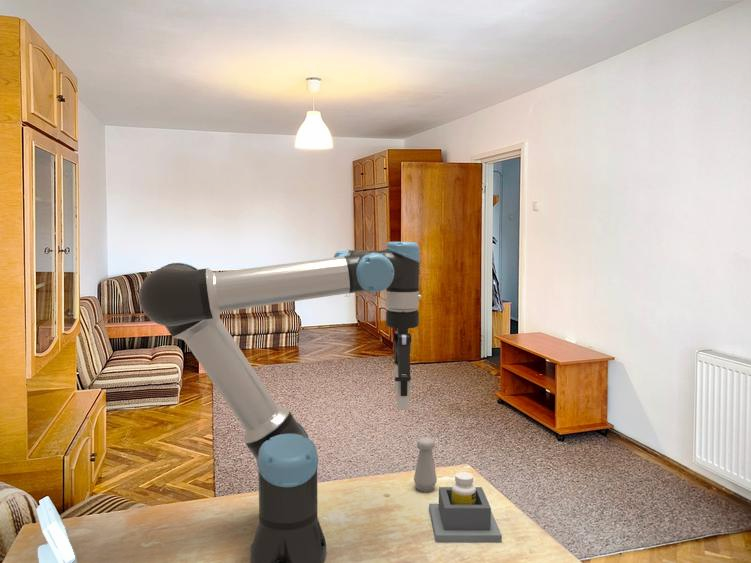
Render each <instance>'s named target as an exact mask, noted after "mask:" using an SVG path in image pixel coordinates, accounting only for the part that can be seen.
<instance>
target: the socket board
mask: <svg viewBox="0 0 751 563" xmlns="http://www.w3.org/2000/svg"><path fill="white" fill-rule="evenodd" d="M475 487H476V504H475V505H451V498H452V486H438V503H429V504H428V511H429V516H430V522H431V526H432V530H433V534H434V540H435V542H436V543H502V541H503V540H502V538H503V535H502V533H501V531H500V528H499V525H498V523H497V520H496V519H495V517H494V516H495V515H494V513H493V511H492V507H491V506H490V503H489V500H488V498H487V495H486V494H485V492H484V489H483V487H482V486H479V487H478V486H475Z"/></svg>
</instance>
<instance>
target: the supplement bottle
mask: <svg viewBox="0 0 751 563" xmlns="http://www.w3.org/2000/svg"><path fill="white" fill-rule="evenodd" d="M454 475H455V476H454V479H455V480H454V482H453V483H452V485H451V487H452V498H451V505H475V504H476V487H477V486H475V484H474V475H473V474H472V473H470V472H467V471H460V472H457V473H455V474H454Z"/></svg>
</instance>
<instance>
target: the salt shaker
mask: <svg viewBox="0 0 751 563" xmlns="http://www.w3.org/2000/svg"><path fill="white" fill-rule="evenodd" d="M416 446H417V449H419V451H418V456H417V462H416V466H415V472H414V475H413V476H414V477H413V481H414V484H415V486H416V489H417V491H420V492H422V493H428V492H429V493H430V492H432V490H434V488H435V486H436V484H437V481H438V480H437V473H436V472H437V471H436V467H435V462H434V460H435V459H434V455H433V450H434V448H435V442H434V439H432V438H431V437H420V438H419V439H418V440H417V442H416Z"/></svg>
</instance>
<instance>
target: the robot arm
mask: <svg viewBox="0 0 751 563" xmlns="http://www.w3.org/2000/svg"><path fill="white" fill-rule="evenodd" d="M420 253H421V252H420V246H419V244H418V243H417V242H415V241H389V242H387V243H386V247H385V249H382V250H356V249H355V250H351V249H347V250H337V251H336V252H335V253H334V255H333V257H329V258H328V257H327V258H321V259H313V260H305V261H296V262H289V263H280V264H273V265H266V266H259V267H251V268H249V267H248V268H241V269H235V270H225V271H219V272H218V271H217V272H214V271H213V270H211V269H210V268H209V267H207V268H200V269H198V268H197V267H195V266H193V265H191V264H188V263H184V262H172V263H169V264H166V265H163V266H161V267H160V268H158V269H155V270H154V271H152V272H151V273H149V274H148V275H147V276H146V277H145V279H143V281H142V283H141V286H140V289H139V292H138V302H139V305H140V308H141V310H142V312H143V313H144V315H145V316H147V318H148V319H149V320H150V321H152V322H153V323H155V324H158V325H161V326H163V327H165V328H166V330H167V331H168V332H169V334H170V336H171V337H172V338H173V339H178V340H182V341H184V342H185V344H186V345H187V347H188V348H189V350H190V351H191V353H192V354H193V356H194V357H195V359H196V361H197V362H198V363H199V364H200V366H201V367H202V369H203V370H204V372H205V373H206V375H207V376H208V378H209V379H210V381H211V382H212V384H213V385H214V387H215V388H216V389H217V391H218V392H219V394H220V395H221V397H222V398H223V399H224V401H225V403H226V404H227V406H228V407H229V409H230V411H231V412H232V413H233V415H234V416H235V417H236V419H237V421H239V423H240V425H241V427H242V428H243V430H244V434H243V442H244V443H245V445H246V447H247V448H248V450H249V451H250V452H251V454H252V455H253V457H254V458H255V460H256V461H257V462H256V463H257V470H258V519H259V520H258V524H257V527H256V531H255V534H254V538H253V541H252V544H251V546H250V563H324V562H325V561H326V558H327V541H326V538H325V534H324V532H323V528H322V526H321V522H320V520H319V518H318V466H319V455H318V453H317V452H318V448H317V446H316V444H315V442H314V441H313V440H312V439H310V438H309V434H308V432H307V431H306V429H305V427H304V426H303V425H301V423H300V422H298V421H297V420H296V419H295V417H294V416H293V414H292V413H291V411H290V409H288V408H287V407H284V406H283V407H281V406H278V404H277V403H276V401H275V400H274V398H273V396H272V395H271V393H270V392H269V391H268V389H267V387H266V386H265V384H264V383H263V382H262V380H261V378H260V377H259V375H258V374H257V371H255V370H254V367H253V366H252V365H251V363H250V362H249V360H248V359H247V357H246V356H245V354H244V353H243V351H242V350H241V348H240V347H239V345H238V343H237V342H236V340H235V339H234V337H233V336H232V335H231V333H230V332H229V330H228V328H227V327H226V325H225V324H224V323H223V322H224V321H222V320H221V318H220V316H221V313H223V312H231V311H237V310H243V309H251V308H256V307H262V306H269V305H277V304H284V303H292V302H297V301H298V302H299V301H304V300H311V299H319V298H324V297H332V296H339V295H346V294H356V293H361V292H368V293H369V292H370V293H379V292H380V293H381V292H382V291H385V307H386V309H387V310H386V312H385V324H386V326H387V327H388V328H392V329H395V332H394V333H393V336H392V338H393V339H392V340H393V347H394V357H393V358H394V364H395V365H394V387H393V388H394V393H397V394H396V410H397V411H411V410H410V406H411V405H410V404H411V379H412V376H411V350H412V348H411V347H412V346H411V345H412V344H411V343H412V335H411V333H409V329H415V328H417V327H419V325H420V311H419V310H418V309H419V306H420V300H421V299H422V298H423V297H422V296H423V295H422V294H419V293H420V291H419V290H420V270H421V266H420V264H421V259H420V258H421V256H420Z"/></svg>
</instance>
